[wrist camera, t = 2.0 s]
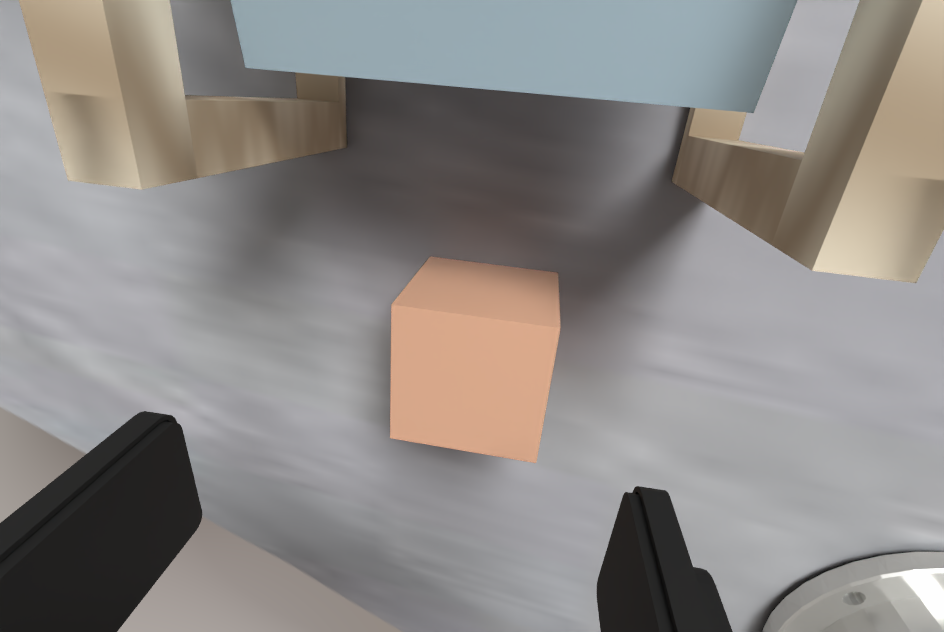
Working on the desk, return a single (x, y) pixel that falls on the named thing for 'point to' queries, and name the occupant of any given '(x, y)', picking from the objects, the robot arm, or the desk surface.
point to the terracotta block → (474, 357)
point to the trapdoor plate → (530, 45)
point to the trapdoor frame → (697, 168)
